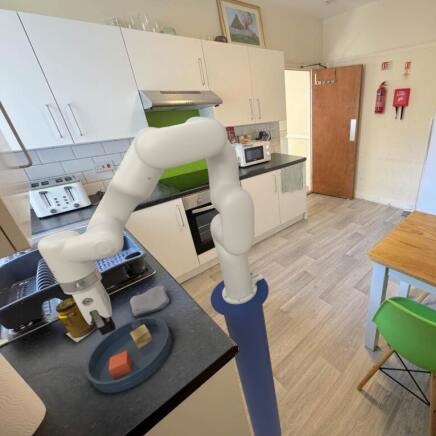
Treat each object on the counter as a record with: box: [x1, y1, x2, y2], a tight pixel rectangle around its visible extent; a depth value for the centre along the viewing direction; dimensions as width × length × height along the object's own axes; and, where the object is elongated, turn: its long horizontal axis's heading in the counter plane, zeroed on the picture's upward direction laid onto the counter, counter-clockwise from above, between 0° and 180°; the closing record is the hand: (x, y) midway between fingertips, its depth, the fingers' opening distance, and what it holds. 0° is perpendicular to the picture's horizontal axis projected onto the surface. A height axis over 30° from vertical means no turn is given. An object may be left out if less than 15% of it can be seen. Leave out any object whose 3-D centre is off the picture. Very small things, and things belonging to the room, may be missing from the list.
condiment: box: [55, 297, 98, 343], centre depth 77 cm, size 7×8×12 cm
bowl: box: [85, 316, 173, 394], centre depth 69 cm, size 20×20×4 cm
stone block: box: [129, 285, 170, 317], centre depth 86 cm, size 12×5×10 cm
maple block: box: [130, 324, 153, 349], centre depth 72 cm, size 4×4×4 cm
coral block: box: [109, 351, 132, 379], centre depth 65 cm, size 4×4×4 cm
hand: (109, 330), depth 66 cm, fingers closed
